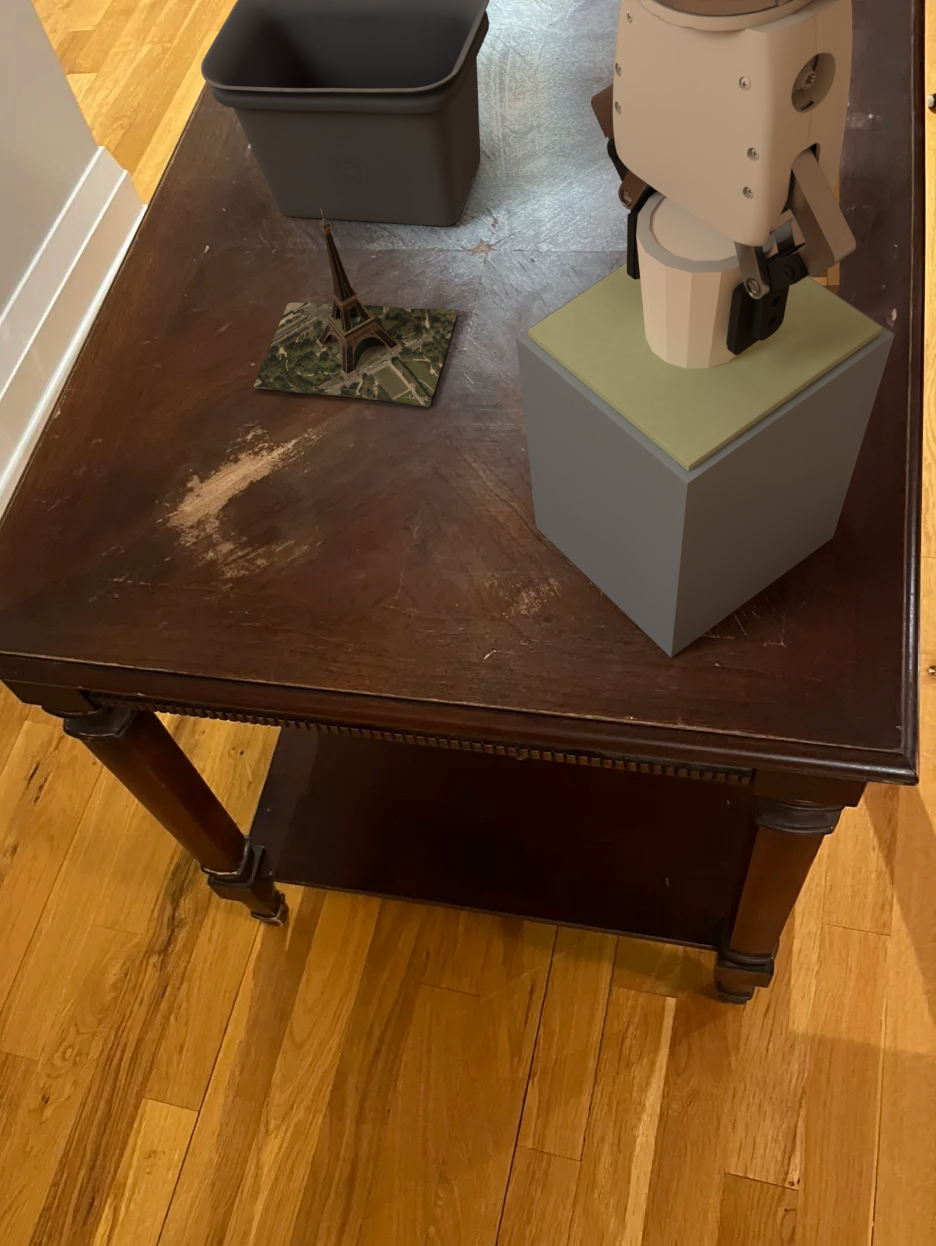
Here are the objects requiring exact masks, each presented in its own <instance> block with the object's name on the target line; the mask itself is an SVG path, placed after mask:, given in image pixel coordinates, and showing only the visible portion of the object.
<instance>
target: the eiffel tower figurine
mask: <svg viewBox="0 0 936 1246" xmlns="http://www.w3.org/2000/svg"><path fill="white" fill-rule="evenodd" d="M320 210H321V208H320ZM321 214H322V217H323V213H322V210H321ZM319 225H320V228H321V230H322V231H323V232H322V233H323V236H324V240H325V245H326V250H327V255H328V260H329V266H330V271H331V276H332V277H331V278H332V285H333V292H332V293H331V296H332V297H333V303H330V302H329V303H325V302H323V303H322V302H292V301H291V302H287V304H286V307H285V309H284V311H283V314H282V316H281V319H280V321H279V324H278V326H277V329H276V331H275V334H274V336H273V338H272V341H271V343H270V345H269V347H268V350H267V353H266V355H265V358H264V360H263V363H262V365H261V367H260V370H259V372H258V375H257V376H256V379H255V381H254V384H253V387H252V389H260V390H270V391H271V390H273V391H278V392H279V391H280V392H287V393H296V394H297V393H298V394H306V395H307V394H309V395H320V396H321V395H322V396H335V397H346V398H356V399H365V400H375V401H382V402H391V403H397V404H403V405H411V406H418V407H427V408H429V407H431V404H432V400H433V397H434V394H435V391H436V388H437V384H438V381H439V378H440V374H441V371H442V367H443V364H444V360H445V357H446V354H447V351H448V347H449V343H450V339H451V336H452V332H453V328H454V325H455V322H456V318H457V315H458V313H459V309H437V308H436V309H434V308H409V307H397V306H385V305H383V306H382V305H371V304H363V303H362V302H361V301H360V300H359V299H358V293H357V292H356V291H355V290H354V289H353V288H352V286H351V283H350V280H349V278H348V276H347V273H346V271H345V267H344V266H343V262H342V260H341V257H340V255H339V252H338V248H337V246H336V243H335V239H334V237H333V234H332V231H331V229H332V226H331V224H330V222H329V221H328V219H324V217H323V219H321V221H320V222H319Z"/></svg>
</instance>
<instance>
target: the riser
mask: <svg viewBox="0 0 936 1246" xmlns="http://www.w3.org/2000/svg"><path fill="white" fill-rule="evenodd" d="M626 263H627V261H626V262H625V263H622V265H620V266H619V267H616V269H614V270H613V271H611V272H610V273H608V274H607V275H605V276H604V277H602V278H601V279H599V280H598V281H596V282H595V283H594V284H592V285H591V286H589V287H588V288H586V289H585V290H583V291H581V292H580V293H578V294H577V295H575V296H574V297H573V298H571V299H570V300H568V301H567V302H565V303H564V304H562V305H561V306H560V307H558V308H557V309H555V310H554V311H552V312H551V313H549V314H547V316H545V317H544V318H542V319H540V320H539V321H537V322H536V323H535V324H533V325H531V326H530V327H529V328H527V329H526V330H524V331H523V332H521V333H520V334H518V335H517V336H516V337H515V340H516V341H515V342H516V343H515V344H516V351H517V359H518V361H517V362H518V369H519V379H520V388H521V398H522V399H521V400H522V408H523V417H524V427H525V435H526V446H527V454H528V465H529V475H530V483H531V492H532V502H533V511H534V520H535V521H534V522H535V528H536V529H537V531H539V532H540V533H541V534H543V536H544V537H545V538H546V539H547V540H548V541H550V543H552V544H553V545H554V546H555V547H556V549H558V550H559V551H560V552H561V553H562V554H563V555H564V556H565V557H566V558H567V559H568V560H569V561H570V562H571V563H572V564H573V565H574V566H576V568H577V569H579V570H580V571H581V573H582V574H584V575H585V576H586V577H587V578H588V579H589V580H590V581H591V582H592V583H593V584H594V585H595V586H596V587H597V588H598V589H599V590H600V591H601V592H602V593H603V594H605V596H607V598H609V600H611V601H612V602H613V603H614V604H615V605H616V606H617V607H618V608H619V609H620V610H621V611H622V612H623V614H625V615H626V616H627V617H628V618H629V619H630V620H631V621H632V622H633V623H634V624H635V625H637V626H638V628H639V629H641V631H643V633H645V634H646V635H647V636H648V637H649V638H650V639H651V640H652V641H653V642H654V643H655V644H656V645H657V646H658V647H659V648H660V649H661V650H662V651H663V652H665V654H667V656H669V657H670V658H673V657H674V656H676V655H677V654H678V653H680V652H681V651H682V650H684V649H685V648H686V647H688V646H689V645H690V644H692V643H693V642H695V641H696V640H698V638H700V637H701V636H703V635H704V634H705V633H707V632H708V631H709V630H711V629H712V628H713V627H715V626H716V625H717V624H719V623H720V622H721V621H723V620H724V619H725V618H727V617H728V616H730V615H731V614H733V612H735V611H736V610H738V609H739V608H740V607H742V606H743V605H744V604H745V603H748V601H750V600H751V599H752V598H754V597H755V596H757V595H758V594H759V593H760V592H762V591H763V590H764V589H766V588H767V587H769V586H770V585H771V584H772V583H774V582H775V581H777V579H779V578H781V577H782V576H783V575H785V574H786V573H788V571H791V569H793V568H794V567H795V566H796V565H798V564H799V563H801V562H803V561H804V560H805V559H806V558H807V557H809V556H811V554H813V553H814V552H816V551H817V550H818V549H819V548H821V547H822V546H823V545H825V544H826V543H828V542H829V541H831V540H832V539H833V538H834V536H835V533H836V529H837V527H838V524H839V520H840V516H841V513H842V510H843V506H844V503H845V501H846V500H845V499H846V496H847V493H848V489H849V487H850V483H851V480H852V476H853V473H854V470H855V467H856V463H857V460H858V456H859V454H860V451H861V447H862V444H863V441H864V438H865V435H866V431H867V427H868V423H869V421H870V418H871V413H872V411H873V409H874V408H873V407H874V404H875V401H876V398H877V395H878V391H879V389H880V388H879V387H880V384H881V381H882V379H883V374H884V371H885V367H886V364H887V361H888V358H889V355H890V351H891V348H892V344H893V341H894V338H895V333H893V332H892V331H891V330H889V329H887V328H886V327H884V326H883V325H881V324H880V323H879V322H877V321H875V320H874V319H873V318H871V317H869V316H868V315H867V314H865V313H863V312H862V311H861V310H859V309H858V308H856V307H855V306H853V305H852V304H851V303H849V302H847V301H846V300H845V299H843V298H842V297H840V296H839V295H838V294H837V295H836V294H834V293H833V292H831V291H830V290H828V289H827V288H825V287H824V286H822V285H821V284H819V283H818V282H816V281H815V280H813V279H812V278H810V277H811V276H808V278H810V279H811V280H813V281H814V282H816V283H817V284H819V285H820V286H822V287H823V288H825V289H826V290H828V291H829V292H831V293H832V294H834V295H835V296H836V297H838V298H839V299H841V300H842V301H844V302H845V303H847V304H848V305H850V306H851V307H853V308H854V309H856V310H857V311H859V312H860V313H862V314H863V315H865V316H866V317H868V318H869V319H870V320H872V321H873V322H875V323H876V324H878V325H879V326H881V327H882V329H881V333H880V335H878V336H877V337H875V338H874V339H873V340H871V341H870V342H868V343H867V344H866V345H864V346H863V347H862V348H860V349H859V350H857V351H856V352H855V353H853V354H852V355H850V356H849V357H848V358H846V359H845V360H843V361H842V362H841V363H839V364H838V365H836V366H835V367H834V368H832V369H831V370H829V371H828V372H827V373H825V374H824V375H822V376H821V377H820V378H818V379H817V380H816V381H814V382H813V383H811V384H810V385H809V386H807V387H806V388H804V389H803V390H802V391H800V392H799V393H797V394H796V395H795V396H793V397H792V398H790V399H789V400H788V401H786V402H785V403H783V404H782V405H781V406H779V407H778V408H777V409H775V410H774V411H772V412H771V413H770V414H768V415H767V416H765V417H764V418H763V419H761V420H760V421H758V422H757V423H756V424H754V425H753V426H751V427H750V428H749V429H747V430H746V431H744V432H743V433H742V434H740V435H739V436H737V437H736V438H735V439H733V440H732V441H731V442H729V443H728V444H726V445H725V446H724V447H722V448H721V449H719V450H718V451H717V452H715V453H714V454H712V455H711V456H710V457H708V458H707V459H705V460H704V461H703V462H701V463H700V464H698V465H697V466H696V467H694V468H693V469H692V470H690V471H687V470H686V469H685V468H684V467H682V466H681V465H680V464H679V463H678V462H677V461H675V460H674V459H673V458H672V457H671V456H669V455H668V454H667V453H666V452H665V451H664V450H662V449H661V448H660V447H659V446H658V445H656V444H655V443H654V442H653V441H652V440H650V439H649V438H648V437H647V436H646V435H645V434H643V433H642V432H641V431H640V430H639V429H637V428H636V427H635V426H634V425H633V424H631V423H630V422H629V421H628V420H627V419H626V418H624V417H623V416H622V415H621V414H620V413H618V412H617V411H616V410H615V409H614V408H613V407H611V406H610V405H609V404H608V403H607V402H605V401H604V400H603V399H602V398H601V397H599V396H598V395H597V394H596V393H595V392H594V391H592V390H591V389H590V388H589V387H588V386H586V385H585V384H584V383H583V382H582V381H581V380H579V379H578V378H577V377H576V376H575V375H573V374H572V373H571V372H570V371H569V370H567V369H566V368H565V367H564V366H563V365H562V364H560V363H559V362H558V361H557V360H556V359H554V358H553V357H552V356H551V355H550V354H548V353H547V352H546V351H545V350H544V349H543V348H541V347H540V346H539V345H538V344H537V343H535V342H534V341H533V340H532V339H531V338H530V337H529V336H528V330H529V329H531V328H532V327H534V326H535V325H537V324H538V323H540V322H541V321H542V320H544V319H545V318H547V317H548V316H550V315H551V314H553V313H554V312H556V311H557V310H559V309H560V308H562V307H563V306H565V305H566V304H568V303H569V302H570V301H572V300H573V299H575V298H576V297H578V296H579V295H581V294H582V293H584V292H585V291H587V290H588V289H590V288H591V287H593V286H594V285H595V284H597V283H598V282H600V281H601V280H603V279H604V278H606V277H607V276H609V275H610V274H612V273H613V272H615V271H616V270H618V269H619V268H621V267H622V266H623V265H625V264H626Z"/></svg>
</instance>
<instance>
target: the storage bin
mask: <svg viewBox="0 0 936 1246" xmlns="http://www.w3.org/2000/svg"><path fill="white" fill-rule="evenodd" d="M489 3H490V0H237V1H236V2H235V3H234V5H233V7H232V8H231V10H230V12H229V14H228V16H227V18H226V19H225V20H224V22H223V25H221V28H220V29H219V31H218V33H217V34H216V36H215V37H214V40H213V41H212V43H211V44H210V47H209V48H208V50H207V51H206V54H205V55H204V57H203V59H202V60H201V61H202V62H201V64H200V72H201V75H202V78H203V79H204V80H205V82H206V83H207V84H209V85H210V86H211V87H210V88H211V92H212V95H213V97H214V99H215V100H216V101H217V103H219V104H220V105H223V106H225V107H227V108H233V110H234V112H235V114H236V116H237V118H238V121H239V123H240V125H241V127H242V130H243V133H244V134H245V137H246V139H247V141H248V143H249V145H250V148H251V150H252V153H253V155H254V157H255V159H256V161H257V164H258V166H259V168H260V171H261V173H262V175H263V177H264V180H265V182H266V185H267V187H268V189H269V191H270V194H271V196H272V198H273V201H274V203H275V206H276V207H277V210H278V212H279V213H280V214H281V215H282V216H285V217H289V218H301V219H302V218H304V219H319V220H320V219H321V220H322V219H323V217H324V219H326V220H338V221H354V222H355V221H356V222H371V223H383V224H384V223H385V224H387V223H388V224H402V225H403V224H405V225H421V226H434V227H435V226H436V227H449V226H452V225H454V224H455V223H456V222H457V221H458V219H459V218H460V215H461V212H462V210H463V207H464V204H465V202H466V200H467V197H468V195H469V192H470V189H471V188H472V184H473V182H474V179H475V177H476V175H477V172H478V170H479V168H480V163H481V158H482V157H481V156H482V155H481V136H480V135H481V133H480V113H479V112H480V111H479V110H480V109H479V108H480V107H479V81H478V80H479V79H478V56H479V53H480V50H481V48H482V46H483V44H484V42H485V39H486V37H487V34H488V33H489V29H490V19H489V15H488V12H487V8H488V6H489ZM320 208H321V210H322V213H323V217H322V214H321V210H320Z"/></svg>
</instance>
